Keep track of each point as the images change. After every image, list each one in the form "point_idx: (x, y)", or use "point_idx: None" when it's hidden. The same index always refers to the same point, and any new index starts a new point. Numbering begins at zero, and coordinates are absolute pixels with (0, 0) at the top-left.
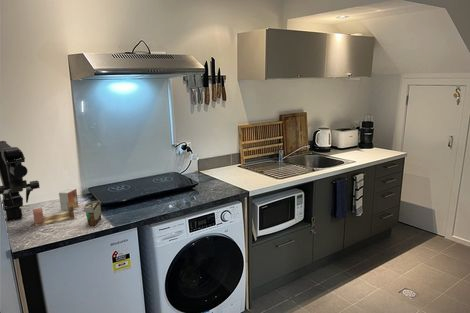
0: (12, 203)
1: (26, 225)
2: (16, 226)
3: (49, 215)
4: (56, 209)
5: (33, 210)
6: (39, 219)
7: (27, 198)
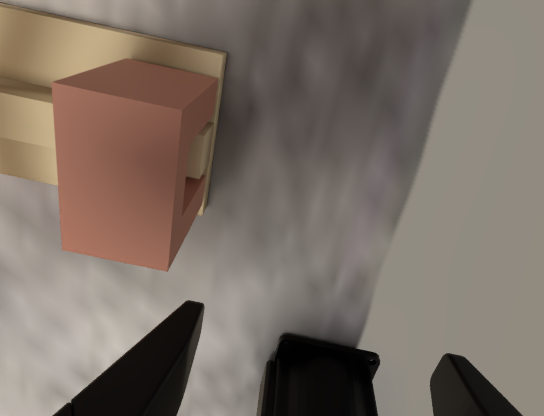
0: (477, 389)
1: (286, 169)
2: (360, 211)
3: (42, 134)
4: (24, 335)
5: (164, 230)
6: (152, 73)
7: (131, 370)
